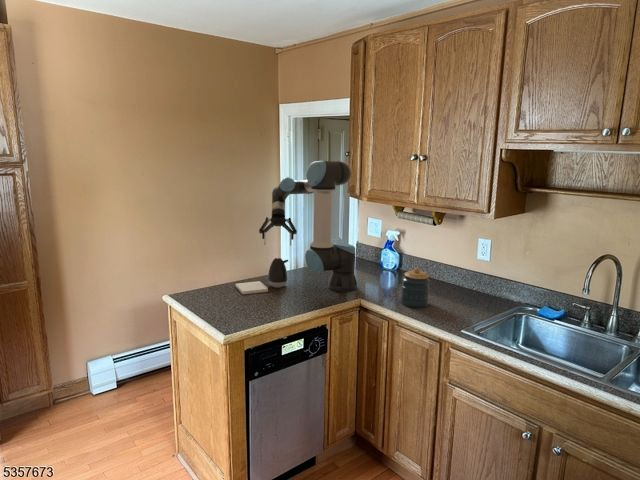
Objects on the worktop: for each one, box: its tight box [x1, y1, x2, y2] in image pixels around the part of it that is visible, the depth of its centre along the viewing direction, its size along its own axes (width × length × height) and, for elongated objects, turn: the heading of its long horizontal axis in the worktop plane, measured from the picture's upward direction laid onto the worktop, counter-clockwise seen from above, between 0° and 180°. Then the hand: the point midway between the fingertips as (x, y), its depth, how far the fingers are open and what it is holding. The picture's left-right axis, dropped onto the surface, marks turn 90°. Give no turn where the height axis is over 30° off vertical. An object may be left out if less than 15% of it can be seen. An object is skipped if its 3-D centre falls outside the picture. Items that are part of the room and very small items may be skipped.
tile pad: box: [235, 280, 269, 295], centre depth 223 cm, size 13×13×2 cm
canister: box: [400, 267, 431, 309], centre depth 209 cm, size 13×13×18 cm
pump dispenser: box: [267, 257, 289, 289], centre depth 228 cm, size 10×10×15 cm
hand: (277, 244), depth 236 cm, fingers open, 13 cm apart
